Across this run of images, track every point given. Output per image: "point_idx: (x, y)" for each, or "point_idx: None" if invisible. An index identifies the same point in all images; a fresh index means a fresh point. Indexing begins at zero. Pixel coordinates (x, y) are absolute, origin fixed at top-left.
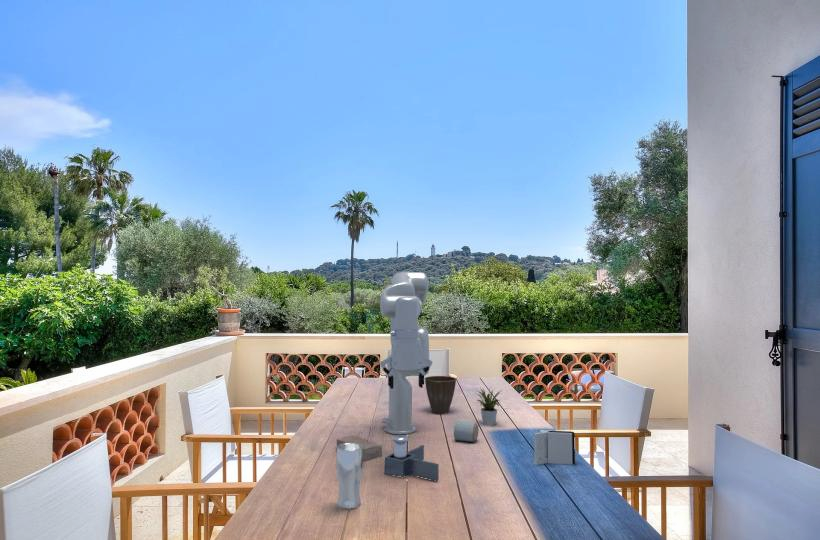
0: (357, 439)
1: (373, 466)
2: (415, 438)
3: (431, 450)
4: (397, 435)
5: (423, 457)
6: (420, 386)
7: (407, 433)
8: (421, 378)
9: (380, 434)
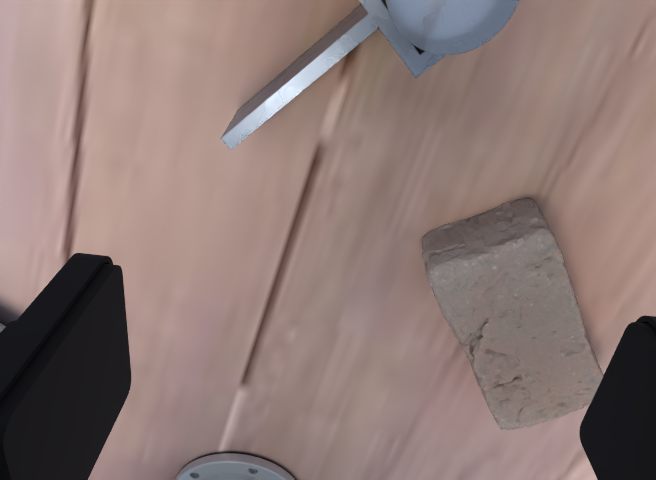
0: (515, 371)
1: (522, 108)
2: (198, 401)
3: (161, 243)
4: (455, 47)
5: (236, 114)
6: (113, 270)
7: (220, 454)
8: (8, 372)
9: (333, 476)
